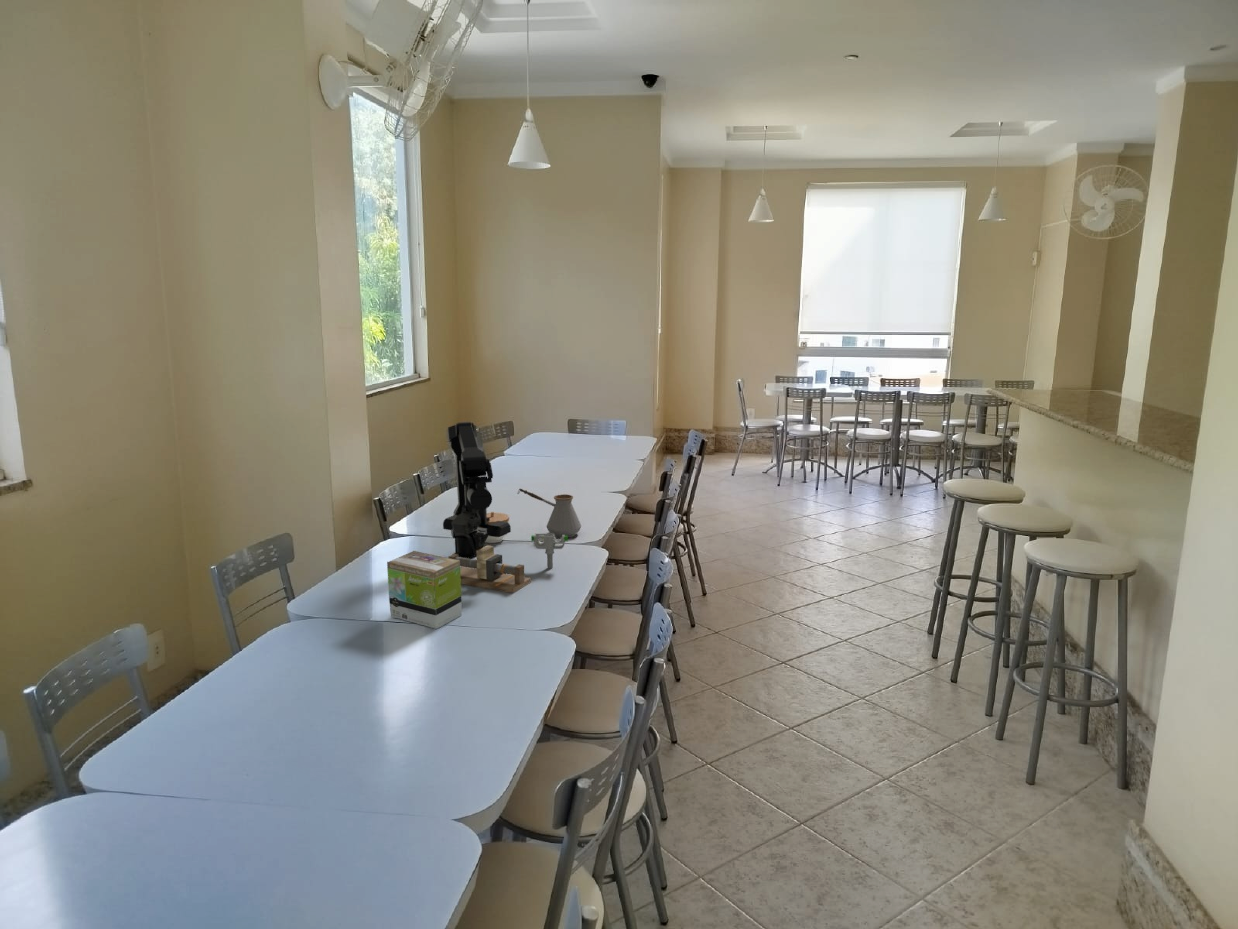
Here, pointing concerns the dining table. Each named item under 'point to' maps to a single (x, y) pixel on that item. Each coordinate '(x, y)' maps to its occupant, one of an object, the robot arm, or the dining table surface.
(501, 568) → the pipe stand
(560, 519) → the coffee pot
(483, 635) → the dining table surface
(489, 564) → the gray slab
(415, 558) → the tea box
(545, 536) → the mechanical component
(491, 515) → the lidded jar
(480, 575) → the sleeve
